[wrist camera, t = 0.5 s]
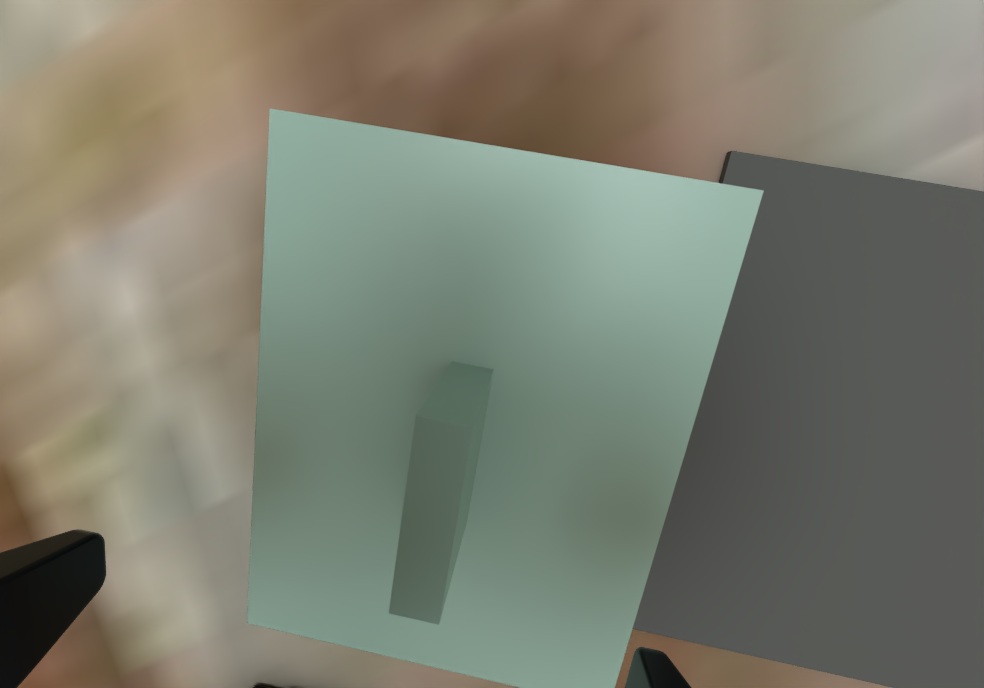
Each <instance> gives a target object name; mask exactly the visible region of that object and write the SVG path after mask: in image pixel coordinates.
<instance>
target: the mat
mask: <svg viewBox="0 0 984 688" xmlns="http://www.w3.org/2000/svg"><path fill="white" fill-rule="evenodd" d="M719 183H721V184H727V185H733V186H739V187H745V188H751V189H757V190H763V191H764V192H763V195H762V198H761V202H760V205H759V208H758V212H757V215H756V218H755V222H754V225H753V228H752V232H751V235H750V238H749V242H748V245H747V248H746V252H745V255H744V258H743V262H742V265H741V268H740V272H739V275H738V278H737V282H736V285H735V288H734V292H733V295H732V298H731V302H730V305H729V308H728V312H727V315H726V318H725V322H724V325H723V328H722V332H721V335H720V338H719V342H718V345H717V348H716V352H715V355H714V358H713V362H712V365H711V368H710V372H709V375H708V378H707V382H706V385H705V388H704V392H703V395H702V398H701V402H700V405H699V408H698V412H697V415H696V418H695V422H694V425H693V428H692V432H691V435H690V438H689V442H688V445H687V448H686V452H685V455H684V458H683V462H682V465H681V468H680V472H679V475H678V478H677V482H676V485H675V488H674V492H673V495H672V498H671V502H670V505H669V508H668V512H667V515H666V518H665V522H664V525H663V528H662V532H661V535H660V538H659V542H658V545H657V548H656V552H655V555H654V558H653V562H652V565H651V568H650V572H649V575H648V578H647V582H646V585H645V588H644V592H643V595H642V598H641V602H640V605H639V608H638V612H637V615H636V618H635V622H634V625H633V628H632V629H636V630H640V631H645V632H649V633H653V634H658V635H662V636H667V637H671V638H676V639H680V640H684V641H689V642H693V643H698V644H702V645H707V646H711V647H716V648H720V649H724V650H729V651H733V652H738V653H742V654H747V655H751V656H756V657H760V658H764V659H769V660H773V661H778V662H782V663H787V664H791V665H795V666H800V667H804V668H809V669H813V670H818V671H822V672H827V673H831V674H835V675H840V676H844V677H849V678H853V679H858V680H862V681H866V682H871V683H875V684H880V685H884V686H889V687H893V688H984V192H983V191H977V190H971V189H964V188H958V187H952V186H946V185H940V184H933V183H927V182H921V181H915V180H909V179H903V178H896V177H890V176H884V175H878V174H872V173H866V172H859V171H853V170H847V169H841V168H835V167H829V166H822V165H816V164H810V163H804V162H798V161H791V160H785V159H779V158H773V157H767V156H761V155H754V154H748V153H742V152H736V151H730V152H728V153H727V157H726V160H725V164H724V167H723V171H722V175H721V178H720V182H719Z"/></svg>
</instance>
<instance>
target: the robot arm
mask: <svg viewBox="0 0 984 688" xmlns="http://www.w3.org/2000/svg"><path fill="white" fill-rule="evenodd" d="M105 577H106V561H105V542H104V538H103V537H102V535H100V534H99V533H95V532H90V531H85V530H72V531H68V532H65V533H62V534H59V535H56V536H52V537H49V538H46V539H43V540H40V541H36V542H33V543H30V544H27V545H24V546H21V547H17V548H14V549H11V550H8V551H5V552H1V553H0V688H17V687H18V686H19V685H20V684H21V683H22V681H23V680H24V679H25V678H26V677H27V676H28V675H29V673H30V672H31V671H32V670H33V669H34V668H35V667H36V665H37V664H38V663H39V662H40V661H41V659H42V658H43V657H44V656H45V655H46V653H47V652H48V651H49V650H50V649H51V647H52V646H53V645H54V644H55V643H56V642H57V640H58V639H59V638H60V637H61V636H62V634H63V633H64V632H65V631H66V630H67V628H68V627H69V626H70V625H71V624H72V622H73V621H74V620H75V619H76V618H77V616H78V615H79V614H80V613H81V612H82V610H83V609H84V608H85V607H86V606H87V604H88V603H89V602H90V601H91V600H92V599H93V597H94V596H95V595H96V594H97V593H98V591H99V590H100V588H101V587H102V585H103V583H104V580H105ZM253 688H265V687H261V686H255V687H253ZM625 688H691V687H690V685H689V684H688V683H687V681H686V680H685V679H684V677H683V676H682V675H681V673H680V672H679V671H678V670H677V668H676V667H675V666H674V664H673V663H672V662H671V660H670V659H669V658H668V657H667V655H666V654H664V653H663V652H661V651H658V650H653V649H648V648H644V647H639V648H637V649H636V651H635V653H634V656H633V659H632V663H631V667H630V670H629V674H628V678H627V681H626V685H625Z"/></svg>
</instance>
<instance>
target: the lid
mask: <svg viewBox="0 0 984 688" xmlns="http://www.w3.org/2000/svg"><path fill="white" fill-rule="evenodd" d="M763 192H764V191H763V190H757V189H751V188H745V187H739V186H733V185H727V184H721V183H715V182H709V181H703V180H697V179H691V178H685V177H679V176H673V175H667V174H661V173H655V172H649V171H643V170H637V169H631V168H625V167H619V166H613V165H607V164H601V163H595V162H589V161H583V160H577V159H571V158H565V157H559V156H553V155H547V154H541V153H535V152H529V151H523V150H517V149H511V148H505V147H499V146H493V145H487V144H481V143H475V142H469V141H463V140H457V139H451V138H445V137H439V136H433V135H427V134H421V133H415V132H409V131H403V130H397V129H391V128H385V127H379V126H373V125H367V124H361V123H355V122H349V121H342V120H336V119H330V118H324V117H318V116H312V115H306V114H300V113H294V112H288V111H282V110H276V109H270V118H269V140H268V163H267V185H266V207H265V230H264V252H263V274H262V297H261V319H260V341H259V364H258V386H257V408H256V431H255V453H254V475H253V497H252V520H251V542H250V564H249V587H248V609H247V623H248V624H253V625H257V626H261V627H265V628H269V629H274V630H278V631H282V632H286V633H291V634H295V635H299V636H303V637H308V638H312V639H316V640H320V641H324V642H329V643H333V644H337V645H341V646H346V647H350V648H354V649H358V650H363V651H367V652H371V653H375V654H380V655H384V656H388V657H392V658H396V659H401V660H405V661H409V662H413V663H418V664H422V665H426V666H430V667H435V668H439V669H443V670H447V671H451V672H456V673H460V674H464V675H468V676H473V677H477V678H481V679H485V680H490V681H494V682H498V683H502V684H507V685H511V686H515V687H519V688H615V685H616V682H617V678H618V675H619V672H620V668H621V665H622V662H623V658H624V655H625V652H626V648H627V645H628V642H629V638H630V635H631V632H632V628H633V625H634V622H635V618H636V615H637V612H638V608H639V605H640V602H641V598H642V595H643V592H644V588H645V585H646V582H647V578H648V575H649V572H650V568H651V565H652V562H653V558H654V555H655V552H656V548H657V545H658V542H659V538H660V535H661V532H662V528H663V525H664V522H665V518H666V515H667V512H668V508H669V505H670V502H671V498H672V495H673V492H674V488H675V485H676V482H677V478H678V475H679V472H680V468H681V465H682V462H683V458H684V455H685V452H686V448H687V445H688V442H689V438H690V435H691V432H692V428H693V425H694V422H695V418H696V415H697V412H698V408H699V405H700V402H701V398H702V395H703V392H704V388H705V385H706V382H707V378H708V375H709V372H710V368H711V365H712V362H713V358H714V355H715V352H716V348H717V345H718V342H719V338H720V335H721V332H722V328H723V325H724V322H725V318H726V315H727V312H728V308H729V305H730V302H731V298H732V295H733V292H734V288H735V285H736V282H737V278H738V275H739V272H740V268H741V265H742V262H743V258H744V255H745V252H746V248H747V245H748V242H749V238H750V235H751V232H752V228H753V225H754V222H755V218H756V215H757V212H758V208H759V205H760V202H761V198H762V195H763Z"/></svg>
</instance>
